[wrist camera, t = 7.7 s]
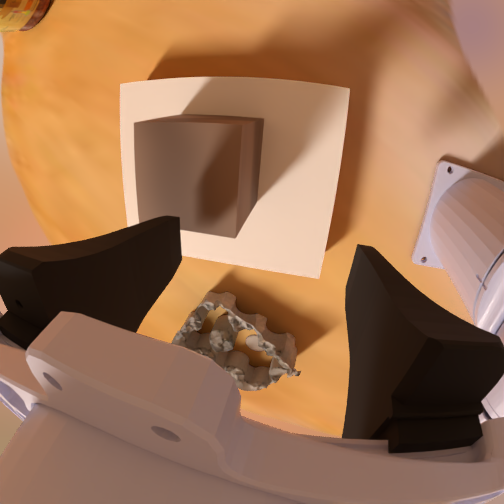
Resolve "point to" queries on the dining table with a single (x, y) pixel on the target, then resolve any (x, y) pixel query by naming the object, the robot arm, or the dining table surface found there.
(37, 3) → the sauce bottle
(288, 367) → the egg carton
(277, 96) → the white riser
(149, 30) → the dining table surface
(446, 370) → the robot arm
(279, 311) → the dining table surface
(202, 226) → the walnut cube
